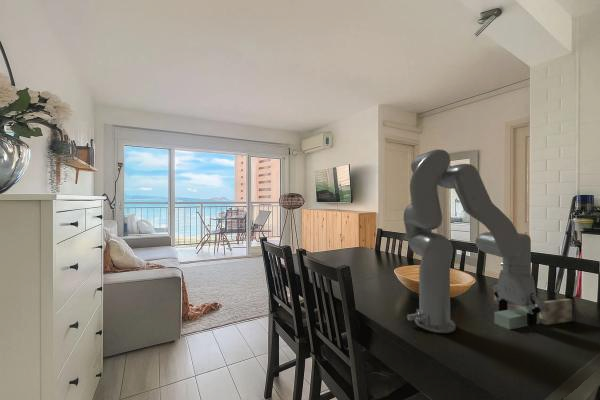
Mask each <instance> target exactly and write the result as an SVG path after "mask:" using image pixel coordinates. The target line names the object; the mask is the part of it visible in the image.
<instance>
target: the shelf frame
mask: <svg viewBox="0 0 600 400" xmlns="http://www.w3.org/2000/svg"><path fill="white" fill-rule="evenodd" d="M497 285H498V284H494V285H493V286H497ZM505 301H507V300H505ZM542 301H543V302H544V303H545V304H546V306H545V308H544V309H543V311H541V312H539V324H542V325H546V326H547V325H554V324H561V323H568V322H573V299H571V298H561V299H553V300H545V301H544V300H542ZM507 303H508V310H509V309H515V308H521V307H525V306H520V305H517V304H515V303H512V302H510V301H507ZM493 304H494V305H497V306H499V301H497V297H496V296H495V294H494V293H493ZM535 306H536V307H537V303H536V304H535ZM530 307H531V306H530ZM525 308H526V307H525ZM531 309H532V308H531Z"/></svg>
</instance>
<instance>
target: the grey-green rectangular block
mask: <svg viewBox="0 0 600 400" xmlns="http://www.w3.org/2000/svg"><path fill="white" fill-rule="evenodd" d="M527 313H529V312H528V310H527V309H526V308H525V307H521V308H515V309H508V310H504V311H499V310H498V311H494V312H493V314H494V315H493V316H494V318H493V319H494V321H493V322H494V324H495V325H498V326H499V327H501V328H505V329H506V330H509V331H510V330H514V329H519V328H524V327H528V326H529V325H527ZM539 324H540V322H539V313H537V324H536V325H539ZM529 327H530V326H529Z"/></svg>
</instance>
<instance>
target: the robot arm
mask: <svg viewBox="0 0 600 400" xmlns="http://www.w3.org/2000/svg"><path fill="white" fill-rule="evenodd" d="M450 164H451V156H450V154H449V152H447V151H446V150H444V149H433V150H430V151H427V152H425V153H422V154H419V155H417V156H415V157H414V158H413V160H411V164H410V168H411V172H412V175H411V179H410V183H409V192H410V199H411V203H409V204H408V205H407V206H406V207H405V209H404V210H403V222H404V224H403V225H404V228H405V234H406V238H407V243H408V246H409V248H410V250H411V251H412V252H413V253H414V254H416V255H418V256H419V257H421V261H420V264H419V268H418V284H419V285H418V296H419V297H418V298H419V299H418V301H419V302H418V305H419V308H417V309H416V312H415V313H410V314H409V313H408V314H407V315H406V318H407V320H408V321H414V322H415V324H416V325H417V326H418V327H420V328H422V329H424V330H426V331H428V332H432V333H438V334H448V333H453V332H454V331H456V329H457V328H456V323H455V322H454V321H453V320H452V319H451V279H450V278H451V263H452V258H453V253H454V250H453V244H452V243H451V241H450V240H449V239H448V237H446V236H444V235H442V234H440V233H436V232H434V231H433V230H436V229H438V228H439V227H440V226H441V225H442V223H443V214H442V209H441V203H440V199H439V193H438V186H439V187H441V188H445V189H448V190H449V189H450V190H451V189H454V191H455V193H456V196H457V198H458V199H459V200H458V201H459V202H460V205H461V207H462V209H463V211H464V212H465V213H466V214H467V215H469V216H470V217H472V218H474V219H475V220H477V221H478V222H479V223H481V224H482V225H483V226H485V228H486V229H488V231H489V232H488V231H485V232H483V233H482V232H481V233H479V235H477V237H476V238H475V246H476V247H477V248H478V250H479V251H481V252H483V253H486V254H489V255H493V256H495V257H496V256H497V257H501V258H502V262H500V266H501V267H502V269H501V270H500V272H499V275H498V281H497V282H498V283H497V284H496V285H497V286H494V285H493V286H492V287H491V288H492V290H493V295H494V294H495V296H496V297H497V301H499V305H498V311H504V310H509V309H508V303H507V301H510V302H512V303H515V304H517V305H520V306H525V307H526V309H527V310H528V312H529V313H527V325H529V327H531V326H536V325H538V324H537V313H539V312H541V311H543V309H544V308H545V306H546V304H545V303H544V302H543V301H544V300H542V299H541V298H539V297H538V296H537V292H536V290H537V289H536V284H535V280H534V275H532V254H531V253H532V251H531V250H532V249H531V248H532V240H531V239H532V238H531V237H530V235H528V234H526V233H520V232H518V231H517V228H516V226H515V225H514V223H513V221H511V219H510V218H509V217H508V216H507V215H506V214H505V213H504V212H503V211H502V210H501V209H500V208H499V207H497V206H496V205H495V204H494V202H493V201H492V200H491V198H490V194H488V190H487V189H486V186H485V183H484V182H483V179H482V178H481V175H480V173H479V171H478V169H477V168H476V167H475V165H473V164H471V163H459V164H454V165H450ZM432 231H433V232H432ZM505 300H507V301H505ZM535 304H537V307H536V306H535ZM530 306H531V307H530ZM531 308H532V309H531Z"/></svg>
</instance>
